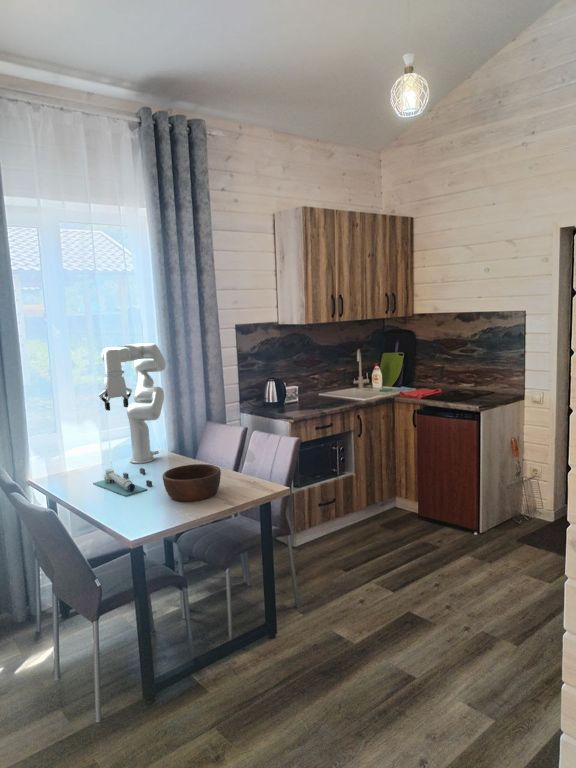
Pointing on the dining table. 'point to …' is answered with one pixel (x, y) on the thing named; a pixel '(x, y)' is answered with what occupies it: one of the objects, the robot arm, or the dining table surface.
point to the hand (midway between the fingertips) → (117, 408)
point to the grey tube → (118, 480)
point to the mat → (119, 488)
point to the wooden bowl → (192, 482)
